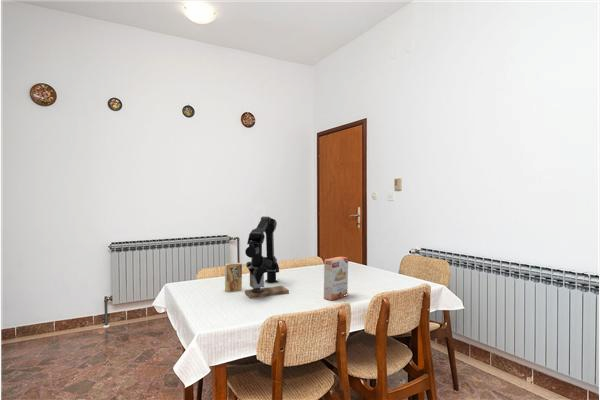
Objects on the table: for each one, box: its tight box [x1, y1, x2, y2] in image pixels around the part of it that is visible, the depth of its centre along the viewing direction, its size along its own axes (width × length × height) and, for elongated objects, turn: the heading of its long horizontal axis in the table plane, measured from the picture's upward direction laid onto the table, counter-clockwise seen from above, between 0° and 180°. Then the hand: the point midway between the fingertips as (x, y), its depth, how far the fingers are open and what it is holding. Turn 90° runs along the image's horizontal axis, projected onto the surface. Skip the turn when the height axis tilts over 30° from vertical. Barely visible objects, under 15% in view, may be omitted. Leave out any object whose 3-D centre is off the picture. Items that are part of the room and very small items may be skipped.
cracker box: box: [323, 256, 349, 301], centre depth 190 cm, size 14×6×21 cm, turn 137°
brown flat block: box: [244, 285, 290, 299], centre depth 197 cm, size 22×10×5 cm, turn 116°
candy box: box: [224, 262, 243, 293], centre depth 203 cm, size 9×4×15 cm, turn 116°
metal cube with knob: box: [249, 271, 265, 289], centre depth 194 cm, size 6×6×8 cm
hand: (256, 282), depth 194 cm, fingers closed on metal cube with knob, 6 cm apart
